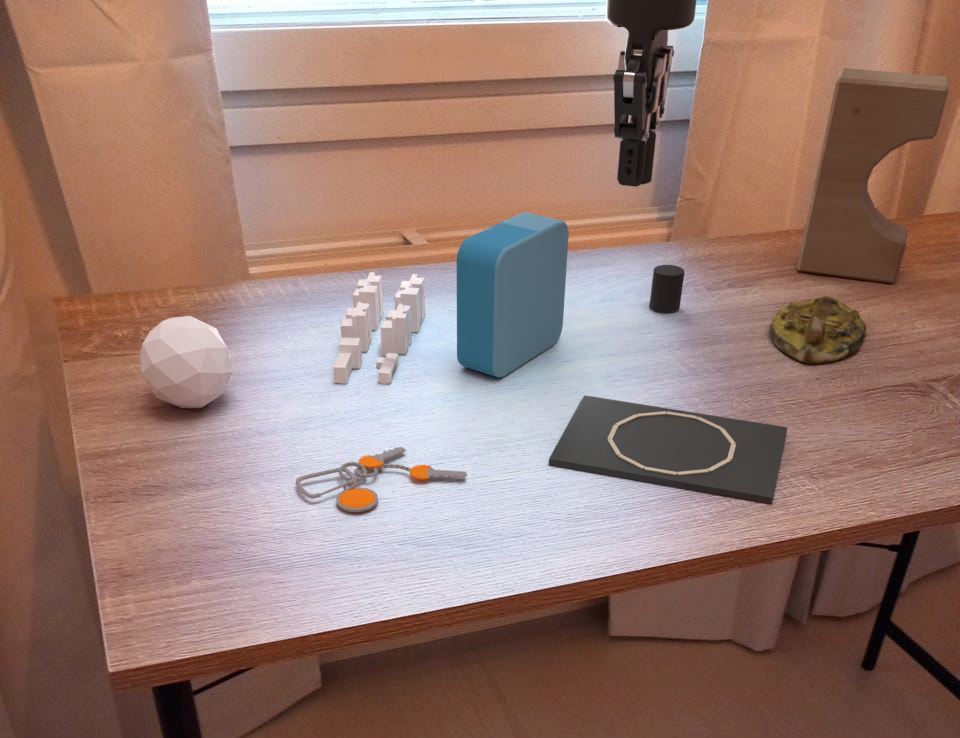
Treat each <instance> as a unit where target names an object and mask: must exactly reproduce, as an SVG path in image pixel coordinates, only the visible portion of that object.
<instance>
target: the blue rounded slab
mask: <svg viewBox="0 0 960 738" xmlns="http://www.w3.org/2000/svg"><path fill="white" fill-rule="evenodd" d="M569 233H570V232H569V227H568V225H567V223H566V222H565V221H564V220H561V219H557V218H554V217H553V218H552V217H548V216H543V215H540V214H535V213H530V212H526V211H523V212H520V213H518V214H516V215H514V216H512V217H510V218H508V219H505V220H504V221H501V222H499V223H497V224H495V225H493V226H490V227H488V228H486V229H484V230H482V231H480V232H478V233H476V234H473V235H471V236H469V237H467V238H465V239H464V240H463V241H462V243H461V244H460V246H459V248H458V251H457V255H456V358H457V361H458V363H459V365H460V366H462V367H464V368H467V369H470V370H473V371H475V372H476V371H477V372H479V373H483V374H486V375H489V376H491V377H496V378H499V379H501V378H503V377H506V376H507V375H510V373H512V372H513V371H515V370H517V369H518V368H520V367H521V366H523V365H524V364H526V363H527V362H529V361H531V360H532V359H534V358H535V357H537V356H539V355H540V354H541V353H544V352H545V351H546V350H548V349H550V348H552V346H554V345H555V344H556V343H557V342H558V341H559V339H560V337H561V335H562V331H563V326H564V313H565V299H566V298H565V297H566V284H567V283H566V282H567V281H566V280H567V269H568V268H567V266H568V264H567V263H568V252H569V251H568V249H569V238H570V237H569Z"/></svg>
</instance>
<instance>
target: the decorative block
mask: <svg viewBox="0 0 960 738" xmlns="http://www.w3.org/2000/svg"><path fill="white" fill-rule="evenodd" d="M949 92H950V80H949V78H948V77H947V76H946V75H934V74H921V73H908V72H895V71H882V70H872V69H871V70H870V69H857V68H845V67H844V68H842V69H841V70H840V71H839V72H838V76H837V78H836V81H835V86H834V89H833V94H832V99H831V104H830V109H829V113H828V118H827V122H826V128H825V132H824V137H823V142H822V146H821V150H820V156H819V162H818V166H817V170H816V175H815V180H814V184H813V190H812V194H811V199H810V203H809V208H808V213H807V217H806V224H805V227H804V230H803V231H804V232H803V237H802V241H801V246H800V251H799V255H798V260H797V265H796V269H797V271H798V272H799V273H806V274H815V275H822V276H828V277H838V278H844V279H854V280H860V281H868V282H875V283H882V284H891V285H893V284H894V283H896V282H897V280H898V276H899V272H900V269H901V265H902V262H903V259H904V254H905V251H906V247H907V242H908V233H909V232H908V228H907V227H906V226H905V225H902V224H900V223H897V222H895V221H891V220H888V219H887V217H885V215H884V214H882V212H880V211H879V209H877V208H876V206H875V204H874V202H873V199H872V197H871V194H870V193H869V191H868V188H869V187H868V186H869V180H870V177H871V175H872V173H873V170H874V168H875V167H876V166H877V165H878V164H879V163H880V162H882V161H883V160H884V159H885V158H886V157H887V156H888V155H889V153H891V152H893V151H895V150H897V149H899V148H901V147H902V146H904V145H906V144H908V143H909V142H915V141H917V142H918V141H924V140H932V139H934V138H935V137H936V136H937V135H938V131H939V128H940V124H941V121H942V116H943V113H944V110H945V106H946V103H947V99H948V96H949Z"/></svg>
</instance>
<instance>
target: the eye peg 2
mask: <svg viewBox="0 0 960 738" xmlns="http://www.w3.org/2000/svg"><path fill="white" fill-rule="evenodd" d="M685 272H686V271H685V269H684V268H683V267H681V266H678V265H674V264H660V265H656V266H655V267H654V268H653V272H652V280H651V289H650V296H649V306H648V307H649V308H650V310H651V311H653V312H657V313H660V314H672V313H676V312H678V311H680V307H681V300H682V295H683V292H682V291H683V286H684V280H685V279H684V278H685Z"/></svg>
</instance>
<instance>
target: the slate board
mask: <svg viewBox="0 0 960 738" xmlns="http://www.w3.org/2000/svg"><path fill="white" fill-rule="evenodd" d="M787 432H788V427H787V426H783V425H776V424H770V423H763V422H757V421H750V420H744V419H739V418H731V417H724V416H719V415H713V414H712V415H711V414H706V413H699V412H692V411H686V410H680V409H674V408H669V407H668V408H667V407H661V406H655V405H649V404H642V403H635V402H629V401H623V400H616V399H611V398H604V397H599V396H592V395H586V394H584V395H583V396H582V398H581V400H580V402H579V403H578V405H577V407H576V409H575V411H574V412H573V415H572V416H571V418H570V420H569V421H568V424H567V426H566V427H565V429H564V431H563V432H562V434H561V436H560V438H559V440H558V442H557V443H556V445H555V447H554V449H553V451H552V453H551V455H550V456H549V458H548V465H549V466H554V467H558V468H565V469H570V470H576V471H581V472H588V473H592V474H599V475H604V476H610V477H615V478H621V479H627V480H633V481H638V482H644V483H648V484H649V483H650V484H656V485H662V486H667V487H672V488H679V489H683V490H690V491H695V492H699V493H701V492H702V493H707V494H713V495H718V496H723V497H728V498H729V497H730V498H735V499H741V500H746V501H753V502H758V503H762V504H770V505H772V504H773V502H774V501H773V500H774V495H775V490H776V485H777V481H778V476H779V472H780V467H781V462H782V456H783V451H784V446H785V442H786V437H787Z"/></svg>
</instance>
